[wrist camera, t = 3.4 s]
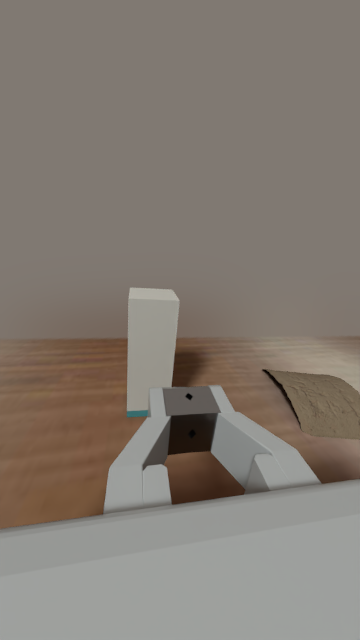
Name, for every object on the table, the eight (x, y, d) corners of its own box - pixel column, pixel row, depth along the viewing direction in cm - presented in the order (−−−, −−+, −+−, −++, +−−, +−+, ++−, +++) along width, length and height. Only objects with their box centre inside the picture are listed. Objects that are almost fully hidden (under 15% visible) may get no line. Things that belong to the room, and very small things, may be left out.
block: (126, 417, 24) (128, 298, 19) (128, 390, 28) (130, 287, 23) (168, 414, 24) (179, 300, 20) (164, 388, 29) (172, 289, 24)
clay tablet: (403, 456, 23) (415, 437, 22) (307, 451, 22) (315, 430, 21) (316, 374, 37) (321, 359, 36) (256, 369, 36) (260, 355, 35)
